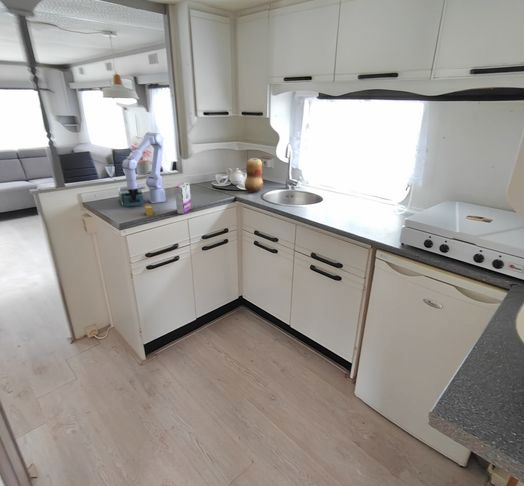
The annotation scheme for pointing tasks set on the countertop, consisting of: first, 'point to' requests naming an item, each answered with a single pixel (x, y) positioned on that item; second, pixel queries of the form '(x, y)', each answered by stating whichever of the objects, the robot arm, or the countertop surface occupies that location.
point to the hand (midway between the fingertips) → (134, 201)
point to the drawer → (130, 202)
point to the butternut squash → (254, 175)
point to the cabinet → (125, 193)
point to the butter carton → (148, 210)
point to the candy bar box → (183, 198)
